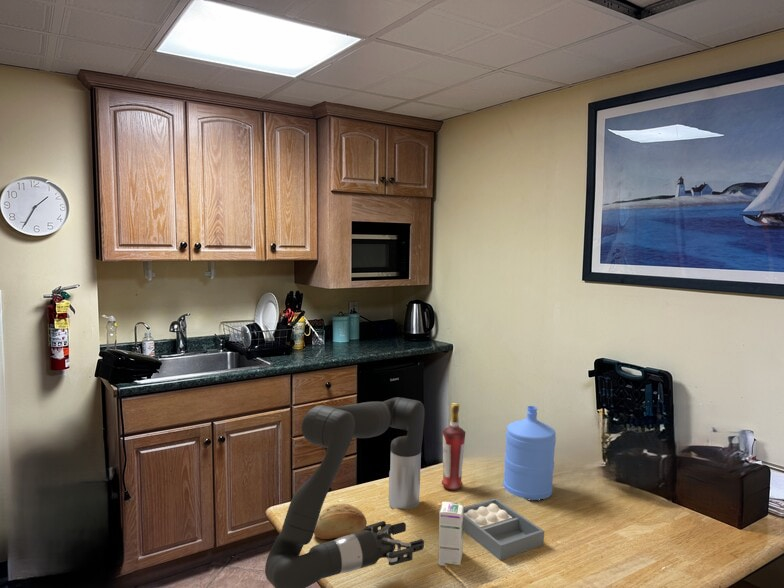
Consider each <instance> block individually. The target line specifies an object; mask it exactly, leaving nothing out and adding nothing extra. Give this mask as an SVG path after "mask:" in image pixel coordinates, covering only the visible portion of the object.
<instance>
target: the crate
mask: <svg viewBox="0 0 784 588" xmlns="http://www.w3.org/2000/svg"><path fill="white" fill-rule="evenodd" d="M492 503H494V504H496V505H497V506H498V508H500V509H501V510H505V511H506V512H507V514H508V515H510V516H511V517H512V519H510V520H507V521H504V522H501V523H497V524H494V525H491V526H488V527H484V528H481V527H480V526H478V525H477V524H476V523H474V522H473V521H472V520H470V519H469V518H468V517H467V516H465V515H464V514H463V533H464V532H465V533H466V534H467V535H468V536H469V537H471V539H473V540H474V541H475V542H477V543H478V544H479V545H480V546H482V547H483V548H484V549H485V550H486V551H488V552H489V553H490V554H492V556H494V557H495V558H496V559H497V560H498V561H502V560H505V559H509V558H511V557H514V556H517V555H520V554H523V553H524V552H525V553H526V552H527V551H531V550H533V549H537V548H539V547H542V546H544V540H545V530H544V529H542V528H541V527H539V526H537V525H536V524H535V523H533V522H532V521H530V520H529V519H527V518H526V517H525V516H523V515H521V514H520V513H519V512H517V511H516V510H514V509H512V508H511V507H510V506H508V505H507V504H505V503H503V502H502V501H500V500H499V499H498V498H497V497H496V498H491V499H487V500H484V501H480V502H477V503H473V504H470V505H467V506H464V508H463V513H467V512H468V511H469V510H471V509H473V510H477V509H478V508H479V507H481V506H484V507H488V506H489V505H490V504H492Z"/></svg>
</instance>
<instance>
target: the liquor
mask: <svg viewBox="0 0 784 588" xmlns="http://www.w3.org/2000/svg"><path fill="white" fill-rule="evenodd" d="M459 411H460V404H459V403H454V402H453V403H451V404H450V412H451V414H450V416H451V417H450V420H449V421H450V422H449V426H447V427H446V428H444V429H443V430H442V465H443V466H442V469H443V471H442V475H443V476H442V480H441V485H442V486H443V487H444V488H446V489H447V490H449V489H450V491H456V490H455V489H457V490H458V489H460V488H461V487H462V486H463V485H464V484H463V482H462V481H463V480H462V478H463V477H462V474H463V463H464V462H463V461H464V452H465V441H466V431H465V430H464V429H463V428H462V427H460V425H459V423H460V421H459V420H460V419H459Z"/></svg>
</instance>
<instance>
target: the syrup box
mask: <svg viewBox="0 0 784 588" xmlns="http://www.w3.org/2000/svg"><path fill="white" fill-rule="evenodd" d="M464 507H465V505H464V504H463V503H460V502H455V501H442V502H441V505H440V508H439V514H438V515H439V517H438V519H439V521H438V522H439V523H438V557H437V558H438V559H437V560H438V563H437V564H438V565H439V566H442V567H447V566H448V565H447V564H449V565H457V566H461V564H462V560H463V551H464V550H463V548H464V547H463V546H464V545H463V544H464V543H463V542H464V531H463V508H464Z"/></svg>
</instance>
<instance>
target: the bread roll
mask: <svg viewBox="0 0 784 588" xmlns="http://www.w3.org/2000/svg"><path fill="white" fill-rule="evenodd" d="M366 518H367V517H366V516H365V514H364V513H363V512H362V511H361V510H360V509H359V508H358V507H356V506H354V505H352V504H348V503H347V504H346V503H337V504H332V505H329V506H327V507H326V508H325V509H323V510H322V511H320V514H319V518H318V521H317V524H316V527H315V530H314V534H313V536H314V535H315V537H316V538H318V539H321V540H330V539H338V538H340V537H343V536H347V535H351V534H355V533H358V532H362V531H364V527H365V526H367V519H366Z"/></svg>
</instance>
